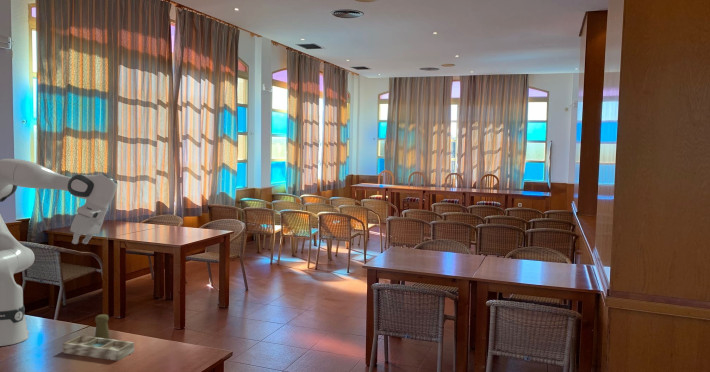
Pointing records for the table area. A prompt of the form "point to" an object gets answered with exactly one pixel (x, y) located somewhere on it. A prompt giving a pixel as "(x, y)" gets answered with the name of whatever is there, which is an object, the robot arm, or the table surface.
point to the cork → (102, 326)
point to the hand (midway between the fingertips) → (79, 243)
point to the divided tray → (98, 347)
